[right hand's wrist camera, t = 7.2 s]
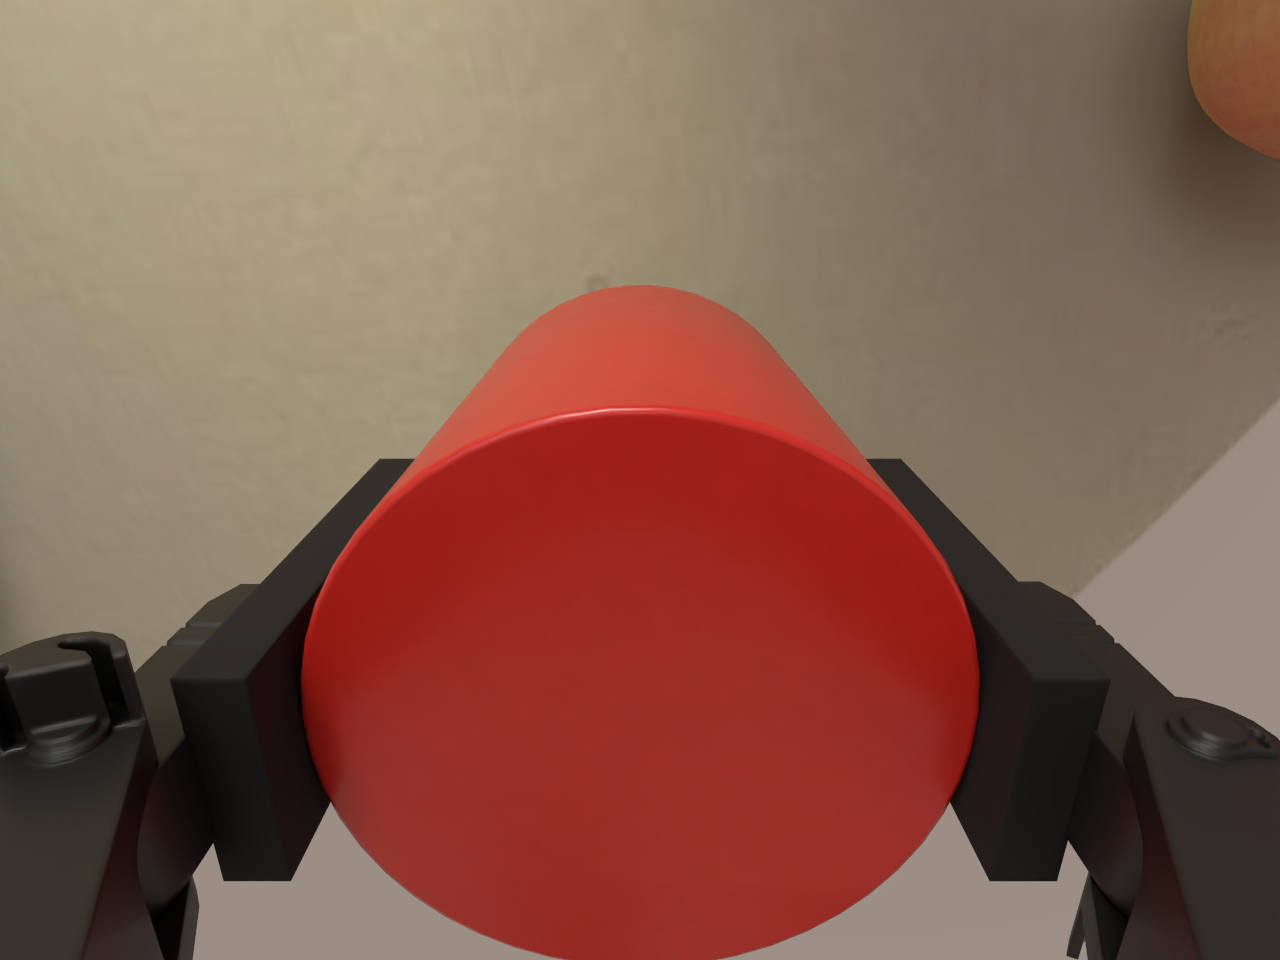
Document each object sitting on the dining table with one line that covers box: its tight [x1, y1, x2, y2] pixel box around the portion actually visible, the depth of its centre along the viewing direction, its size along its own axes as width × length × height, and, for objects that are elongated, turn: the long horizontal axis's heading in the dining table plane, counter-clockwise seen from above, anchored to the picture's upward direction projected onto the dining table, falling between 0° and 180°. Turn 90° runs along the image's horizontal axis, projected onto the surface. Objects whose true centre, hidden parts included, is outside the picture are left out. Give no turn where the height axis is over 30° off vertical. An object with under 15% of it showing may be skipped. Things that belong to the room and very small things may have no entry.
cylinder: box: [301, 285, 980, 960], centre depth 13 cm, size 8×8×10 cm
